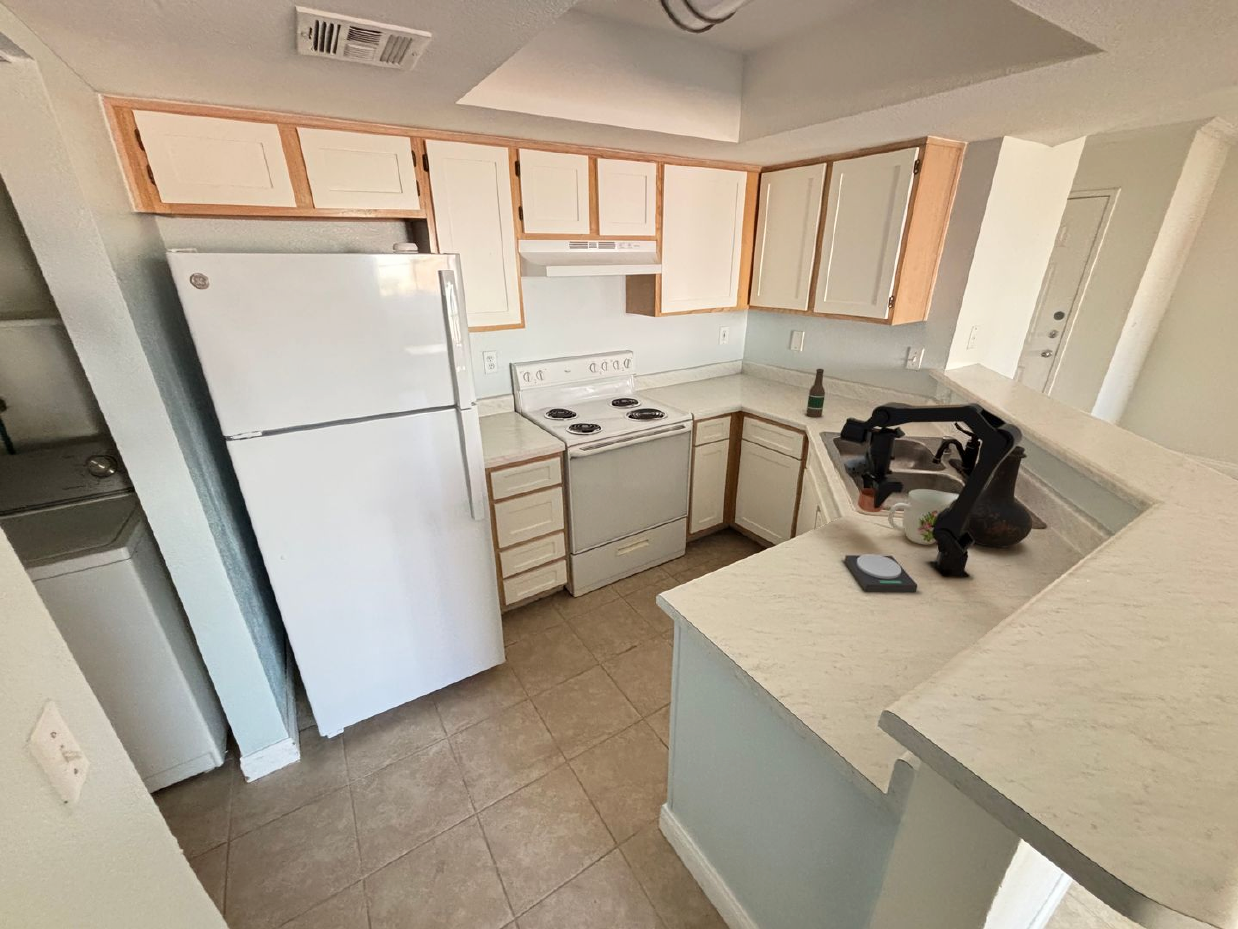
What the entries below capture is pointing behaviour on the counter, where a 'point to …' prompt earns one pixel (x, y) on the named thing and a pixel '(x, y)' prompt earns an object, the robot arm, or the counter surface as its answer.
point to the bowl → (868, 500)
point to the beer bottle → (816, 396)
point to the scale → (880, 573)
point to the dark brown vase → (1001, 507)
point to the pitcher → (921, 513)
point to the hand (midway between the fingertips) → (871, 502)
